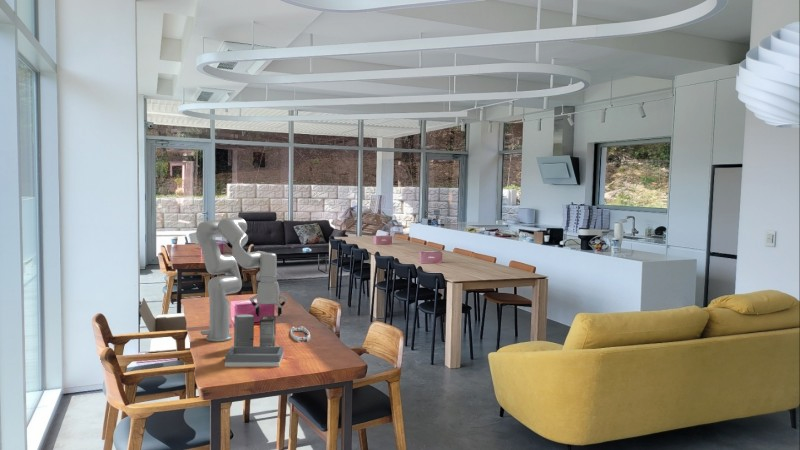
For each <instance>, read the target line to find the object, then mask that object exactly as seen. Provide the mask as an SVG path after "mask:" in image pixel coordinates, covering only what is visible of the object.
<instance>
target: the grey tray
mask: <svg viewBox="0 0 800 450" xmlns="http://www.w3.org/2000/svg"><path fill="white" fill-rule="evenodd" d="M283 357H284V346H281V345H279V346H278V345H277V346H276V345H275V346H260V345H257V346H254V345H253V346H234V345H233V346H231V347H230V348H229V350H228V351H227V352H226V354H225V356H224V358H225V360H224V361H225V362H224V367H226V368H227V367H231V368H232V367H237V368H238V367H242V368H243V367H244V368H245V367H280V365H281V362H282V359H283Z"/></svg>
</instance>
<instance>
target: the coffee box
mask: <svg viewBox="0 0 800 450" xmlns="http://www.w3.org/2000/svg"><path fill="white" fill-rule="evenodd" d="M276 325H277V324H276V316H275V315H262V316H261V318H260V320H259V346H276V338H277V337H276V333H277V332H276V329H277V328H276Z"/></svg>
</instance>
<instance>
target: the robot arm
mask: <svg viewBox="0 0 800 450" xmlns="http://www.w3.org/2000/svg"><path fill="white" fill-rule="evenodd" d="M247 230H248V224H247V221H246V220H245V219H244V218H243V217H225V218H222V219H218V220H217V219H216V220H215V219H213V220H205V221H202V222H200V223H199V224H198V225H197V228H196V231H195V235H196V240H197V242H198V244H199V247H200V249H201V252H202V256H203V261H204V265H205V269H206V271H207V273H208V274H210V275H219V276H215V277H211V279H209V280H208V282H207V293H208V298H209V329H207V330H205V329H201V331H200V334H201V335H202V336H205V338H206V340H207V342H208V341H209V342H218V343H219V342H227V341H230V340H232V339H233V334H231V333H230V301H229V299H228V297H227V296H226V295H230V294H235V293H239V292H240V291H241V289H242V285H243V282H242V277H241V274H240V269H239V265H240V266H241V267H242V268H243V269H246V270H249V269H255V268H259V275H260V276H257V277H256V281H259V282H257V283H258V284H257V291H256V294H255V295H253V296H252V297H250V298H249V301H250V303H251V305H252V306H253V307H254V308H255V315H256V317H260V306H261V305H277V317H280V316H281V315H282V313H283V311H282V308H283V306H284V305H285V304H286V302H287V301H288V297H287V296H284V295H283V294H280V285H279V282H278V278H277V275H278V274H277V272H278V270H277V268H278V265H277V263H278V262H277V261H278V259H277V258H278V257H277V254H276V253H274V252H267V251H260V250H259V251H248V252H247V251H246V250H245V249H244V248H243V247H245V246H246V244H247V243H248V240H249V236H248V234H247ZM221 237H224V238H225V239H226V240H227V241H228V242H229V244H230V245H231V246H232V247H231V252H232V254H222V253H221V249H220V246H219V244H218V243H217V241H216V240H215V239H213V238H221ZM221 274H225V275H221ZM255 299H256V302H257V303H256V302H255ZM281 299H282V300H283V301H282V302H280V300H281Z"/></svg>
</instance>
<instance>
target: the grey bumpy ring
mask: <svg viewBox="0 0 800 450" xmlns="http://www.w3.org/2000/svg"><path fill="white" fill-rule="evenodd" d="M293 332H303V333H305V334H306V335H305V336H298V335H294V334H293ZM289 333H290V337H291V338H292V339H293V340H294V341H295V342H298V343H300V342H301V341H304V342H305V341H306V342H307V343H308V342H309V341H310V340H311V334H310V333H311V332H310V331H309V330H308V329H307V328H306V327H305V326H302V325H300V327H295V326H292V327H291V328H290V332H289Z"/></svg>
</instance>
